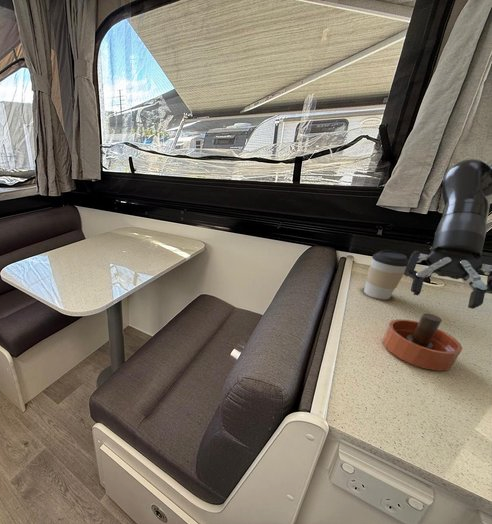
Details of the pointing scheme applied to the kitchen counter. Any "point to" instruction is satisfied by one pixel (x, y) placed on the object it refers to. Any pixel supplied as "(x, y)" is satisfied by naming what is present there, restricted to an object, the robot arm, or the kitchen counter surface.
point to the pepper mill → (425, 330)
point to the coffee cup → (385, 273)
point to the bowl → (412, 353)
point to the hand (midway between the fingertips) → (443, 300)
